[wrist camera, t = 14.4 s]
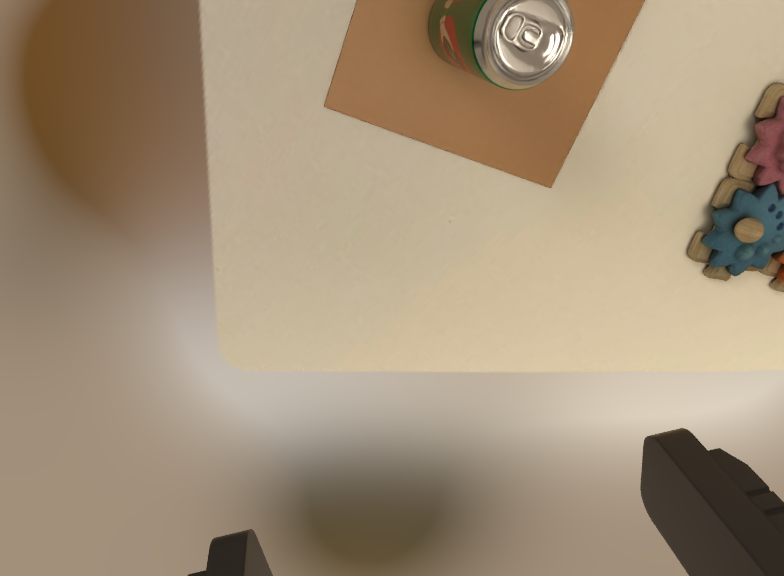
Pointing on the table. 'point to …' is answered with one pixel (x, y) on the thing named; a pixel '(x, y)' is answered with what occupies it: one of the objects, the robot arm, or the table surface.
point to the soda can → (503, 38)
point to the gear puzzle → (750, 204)
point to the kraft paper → (474, 87)
